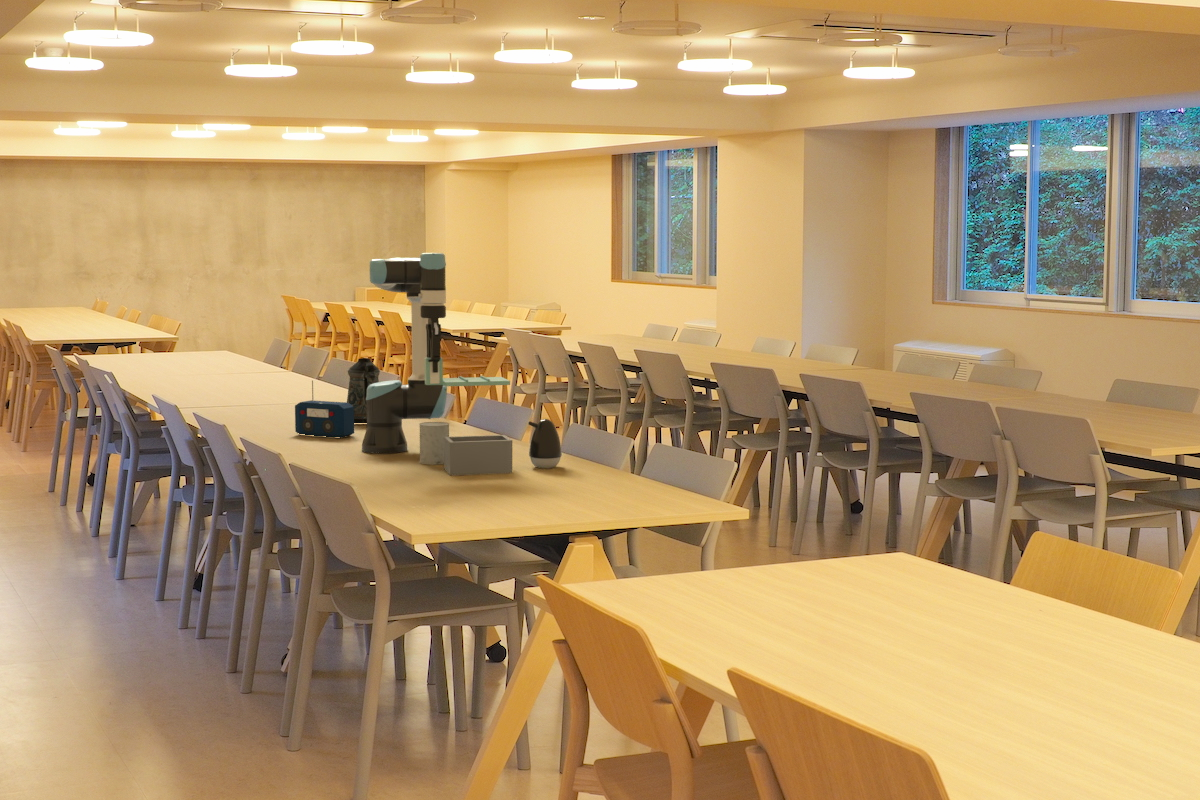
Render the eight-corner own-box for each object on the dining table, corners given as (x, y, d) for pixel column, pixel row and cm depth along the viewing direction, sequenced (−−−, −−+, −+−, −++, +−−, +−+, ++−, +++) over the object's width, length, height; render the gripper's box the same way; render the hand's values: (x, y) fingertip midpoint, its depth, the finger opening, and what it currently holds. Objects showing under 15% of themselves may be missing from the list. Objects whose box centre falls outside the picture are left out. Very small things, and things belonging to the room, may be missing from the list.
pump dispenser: (529, 464, 406) (529, 416, 404) (562, 464, 406) (562, 416, 405) (527, 469, 396) (527, 421, 394) (561, 470, 396) (561, 421, 394)
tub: (444, 468, 397) (444, 436, 396) (504, 466, 402) (504, 434, 401) (450, 475, 385) (450, 442, 384) (512, 472, 390) (512, 440, 389)
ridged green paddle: (422, 382, 392) (422, 356, 391) (501, 380, 399) (501, 355, 398) (428, 386, 380) (428, 359, 379) (510, 384, 387) (510, 358, 386)
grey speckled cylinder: (444, 464, 404) (443, 426, 403) (415, 463, 406) (414, 425, 405) (453, 460, 414) (453, 422, 412) (425, 459, 416) (425, 421, 414)
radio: (293, 435, 466) (292, 381, 463) (307, 432, 474) (306, 378, 471) (342, 439, 458) (341, 383, 455) (355, 436, 466) (354, 381, 463)
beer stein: (365, 418, 515) (364, 356, 512) (400, 422, 504) (399, 358, 501) (334, 422, 502) (333, 358, 499) (369, 426, 490) (368, 361, 488)
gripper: (416, 303, 391) (417, 380, 393) (424, 305, 375) (425, 385, 378) (441, 303, 393) (441, 379, 396) (450, 305, 378) (450, 385, 380)
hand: (433, 382), depth 387 cm, fingers closed on ridged green paddle, 3 cm apart
